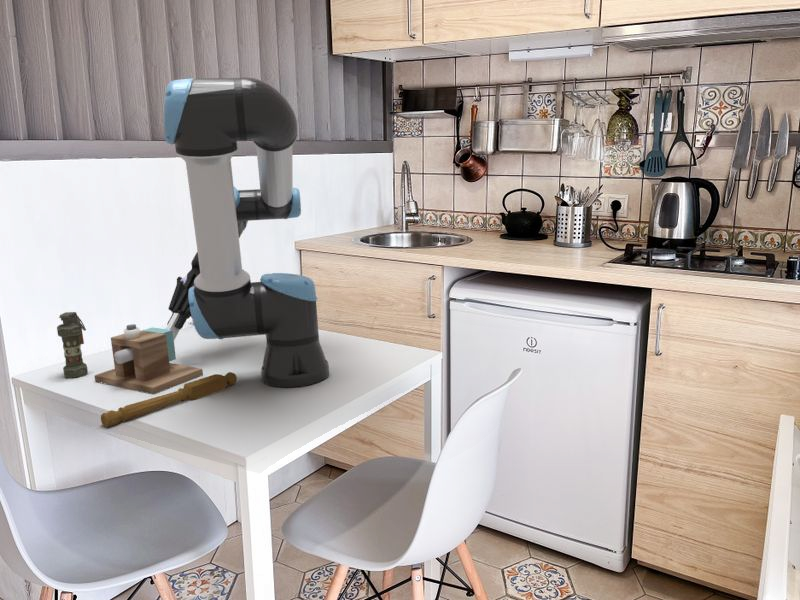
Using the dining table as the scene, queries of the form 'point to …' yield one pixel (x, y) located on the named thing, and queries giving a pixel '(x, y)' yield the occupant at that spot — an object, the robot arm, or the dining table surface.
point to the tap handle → (170, 398)
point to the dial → (131, 332)
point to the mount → (146, 365)
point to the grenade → (72, 344)
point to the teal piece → (128, 354)
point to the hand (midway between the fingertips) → (167, 339)
